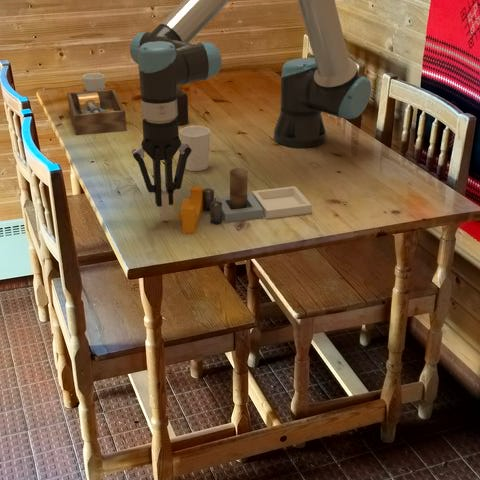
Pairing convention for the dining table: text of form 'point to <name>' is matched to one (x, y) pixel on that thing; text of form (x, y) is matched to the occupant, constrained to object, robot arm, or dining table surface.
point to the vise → (88, 103)
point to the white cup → (196, 147)
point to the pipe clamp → (192, 210)
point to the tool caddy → (98, 114)
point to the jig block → (240, 210)
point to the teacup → (94, 81)
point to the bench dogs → (212, 206)
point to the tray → (282, 202)
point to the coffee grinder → (182, 107)
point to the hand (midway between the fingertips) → (165, 217)
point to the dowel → (238, 188)
